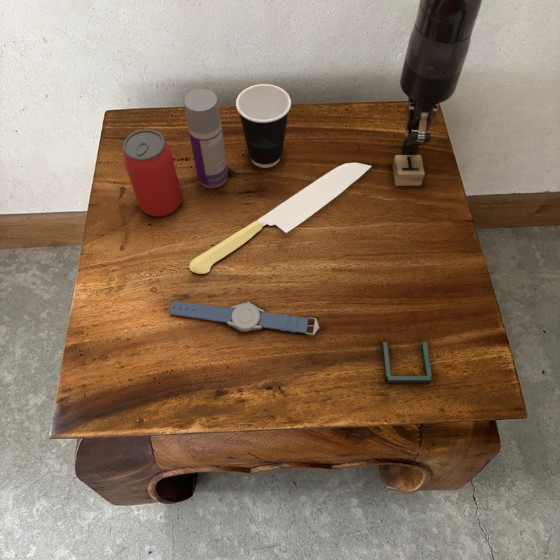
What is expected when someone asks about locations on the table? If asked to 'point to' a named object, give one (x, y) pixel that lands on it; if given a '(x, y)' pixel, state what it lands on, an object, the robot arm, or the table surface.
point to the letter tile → (408, 170)
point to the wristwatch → (244, 317)
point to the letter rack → (407, 378)
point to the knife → (286, 212)
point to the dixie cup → (264, 122)
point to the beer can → (152, 172)
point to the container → (206, 137)
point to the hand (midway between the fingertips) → (408, 152)
